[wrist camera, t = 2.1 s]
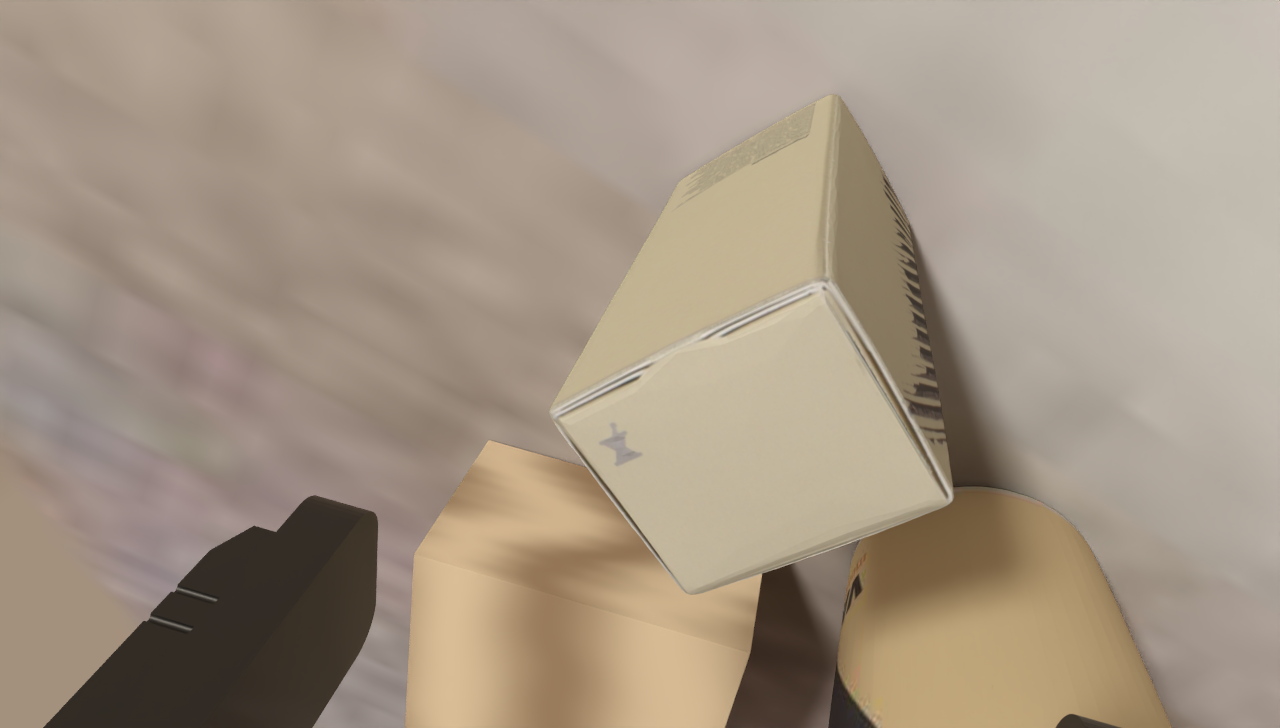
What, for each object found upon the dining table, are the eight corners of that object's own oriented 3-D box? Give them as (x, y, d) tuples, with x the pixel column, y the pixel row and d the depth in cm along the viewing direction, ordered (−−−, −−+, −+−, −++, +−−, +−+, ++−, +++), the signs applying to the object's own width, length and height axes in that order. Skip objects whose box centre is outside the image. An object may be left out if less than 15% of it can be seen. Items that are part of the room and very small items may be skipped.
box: (753, 302, 26) (672, 615, 15) (674, 176, 25) (524, 420, 14) (923, 219, 24) (969, 516, 13) (846, 75, 23) (826, 273, 12)
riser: (770, 518, 30) (750, 653, 25) (708, 710, 35) (681, 854, 30) (488, 440, 31) (414, 554, 26) (468, 637, 36) (402, 764, 31)
